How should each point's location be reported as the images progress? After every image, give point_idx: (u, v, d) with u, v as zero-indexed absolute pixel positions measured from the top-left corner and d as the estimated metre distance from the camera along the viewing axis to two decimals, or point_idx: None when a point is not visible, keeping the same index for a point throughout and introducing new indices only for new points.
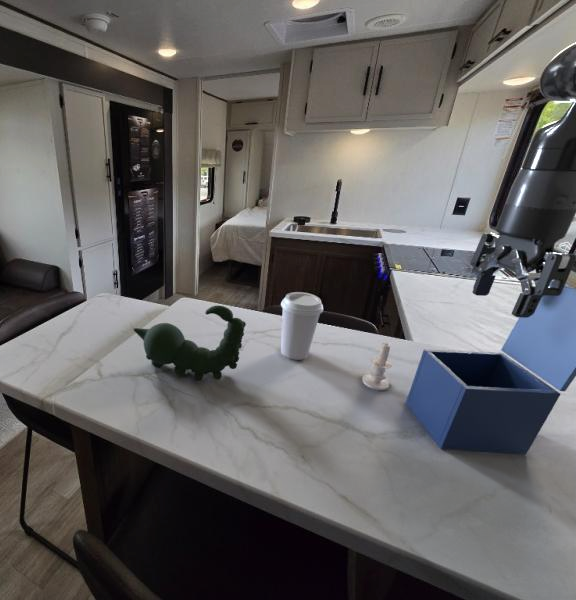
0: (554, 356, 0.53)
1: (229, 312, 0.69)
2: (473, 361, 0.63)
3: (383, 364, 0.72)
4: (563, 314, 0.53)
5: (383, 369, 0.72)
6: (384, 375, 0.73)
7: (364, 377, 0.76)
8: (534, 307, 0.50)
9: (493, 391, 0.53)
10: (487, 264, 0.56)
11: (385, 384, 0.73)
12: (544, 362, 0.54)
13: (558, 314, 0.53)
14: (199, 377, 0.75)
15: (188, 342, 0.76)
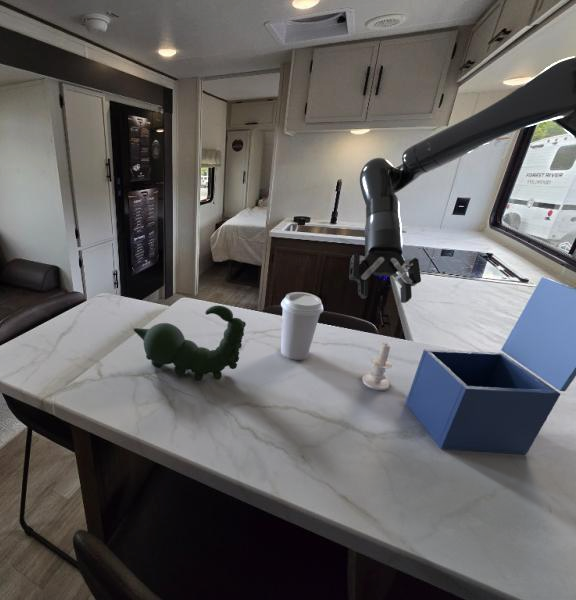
0: (554, 356, 0.53)
1: (229, 312, 0.69)
2: (473, 361, 0.63)
3: (383, 364, 0.72)
4: (563, 314, 0.53)
5: (383, 369, 0.72)
6: (384, 375, 0.73)
7: (364, 377, 0.76)
8: (359, 287, 0.77)
9: (493, 391, 0.53)
10: (394, 279, 0.79)
11: (385, 384, 0.73)
12: (544, 362, 0.54)
13: (558, 314, 0.53)
14: (199, 377, 0.75)
15: (188, 342, 0.76)
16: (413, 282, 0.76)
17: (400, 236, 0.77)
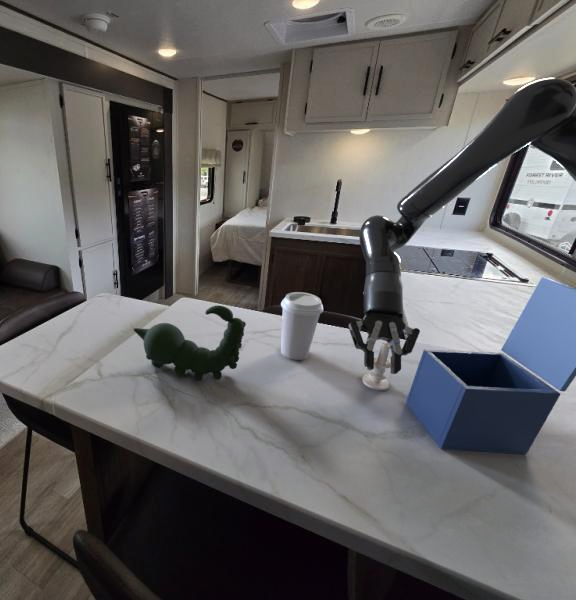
0: (554, 356, 0.53)
1: (229, 312, 0.69)
2: (473, 361, 0.63)
3: (383, 364, 0.72)
4: (563, 314, 0.53)
5: (383, 369, 0.72)
6: (384, 375, 0.73)
7: (364, 377, 0.76)
8: (365, 358, 0.72)
9: (493, 391, 0.53)
10: None
11: (385, 384, 0.73)
12: (544, 362, 0.54)
13: (558, 314, 0.53)
14: (199, 377, 0.75)
15: (188, 342, 0.76)
16: (403, 352, 0.71)
17: (400, 299, 0.73)
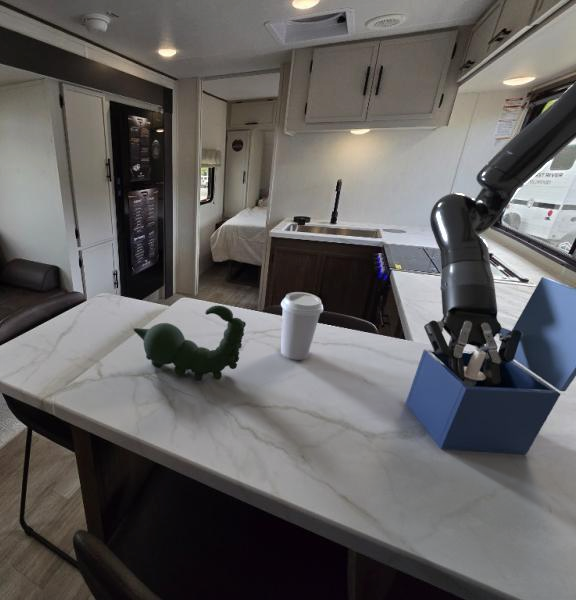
0: (554, 356, 0.53)
1: (229, 312, 0.69)
2: None
3: (475, 375, 0.58)
4: (563, 314, 0.53)
5: (474, 381, 0.58)
6: None
7: None
8: (452, 368, 0.58)
9: (493, 391, 0.53)
10: None
11: None
12: (544, 362, 0.54)
13: (558, 314, 0.53)
14: (199, 377, 0.75)
15: (188, 342, 0.76)
16: (502, 360, 0.57)
17: (493, 294, 0.59)
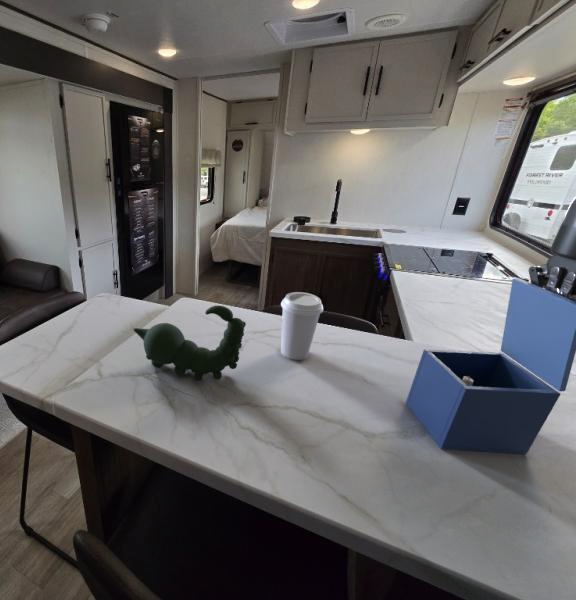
0: (545, 357, 0.53)
1: (229, 312, 0.69)
2: (473, 361, 0.63)
3: None
4: (540, 315, 0.53)
5: None
6: None
7: None
8: None
9: (493, 391, 0.53)
10: None
11: None
12: (539, 363, 0.55)
13: (536, 315, 0.54)
14: (199, 377, 0.75)
15: (188, 342, 0.76)
16: None
17: None
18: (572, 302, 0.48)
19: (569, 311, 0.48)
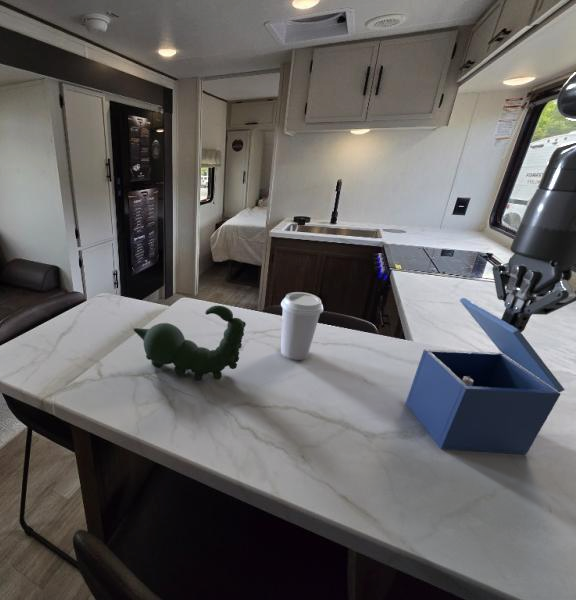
0: (528, 364, 0.54)
1: (229, 312, 0.69)
2: (473, 361, 0.63)
3: None
4: (497, 331, 0.55)
5: None
6: None
7: None
8: (524, 324, 0.53)
9: (493, 391, 0.53)
10: (512, 291, 0.53)
11: None
12: (529, 367, 0.55)
13: (495, 331, 0.55)
14: (199, 377, 0.75)
15: (188, 342, 0.76)
16: None
17: None
18: (506, 325, 0.50)
19: (509, 333, 0.50)
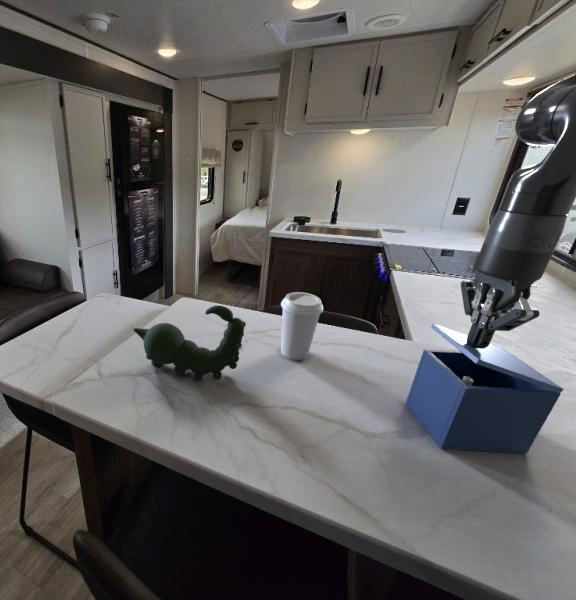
0: None
1: (229, 312, 0.69)
2: None
3: None
4: None
5: None
6: None
7: None
8: (489, 339, 0.54)
9: (493, 391, 0.53)
10: (477, 308, 0.54)
11: None
12: None
13: None
14: (199, 377, 0.75)
15: (188, 342, 0.76)
16: None
17: None
18: (469, 355, 0.53)
19: None
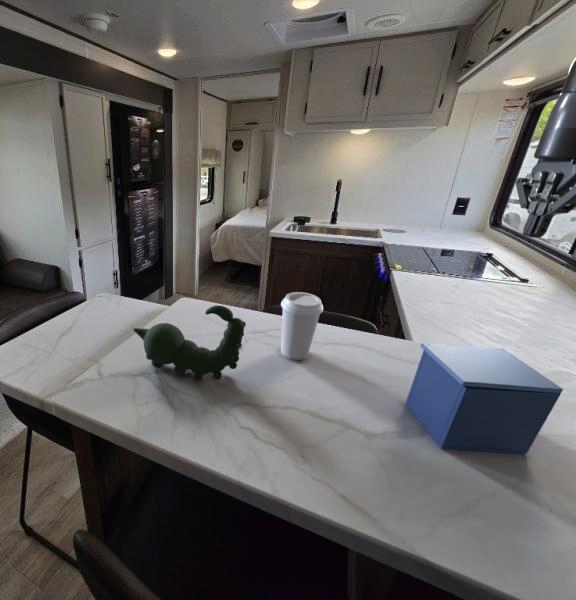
0: None
1: (229, 312, 0.69)
2: None
3: None
4: None
5: None
6: None
7: None
8: (546, 226, 0.58)
9: (493, 391, 0.53)
10: (535, 196, 0.58)
11: None
12: None
13: None
14: (199, 377, 0.75)
15: (188, 342, 0.76)
16: None
17: None
18: (455, 377, 0.54)
19: None
